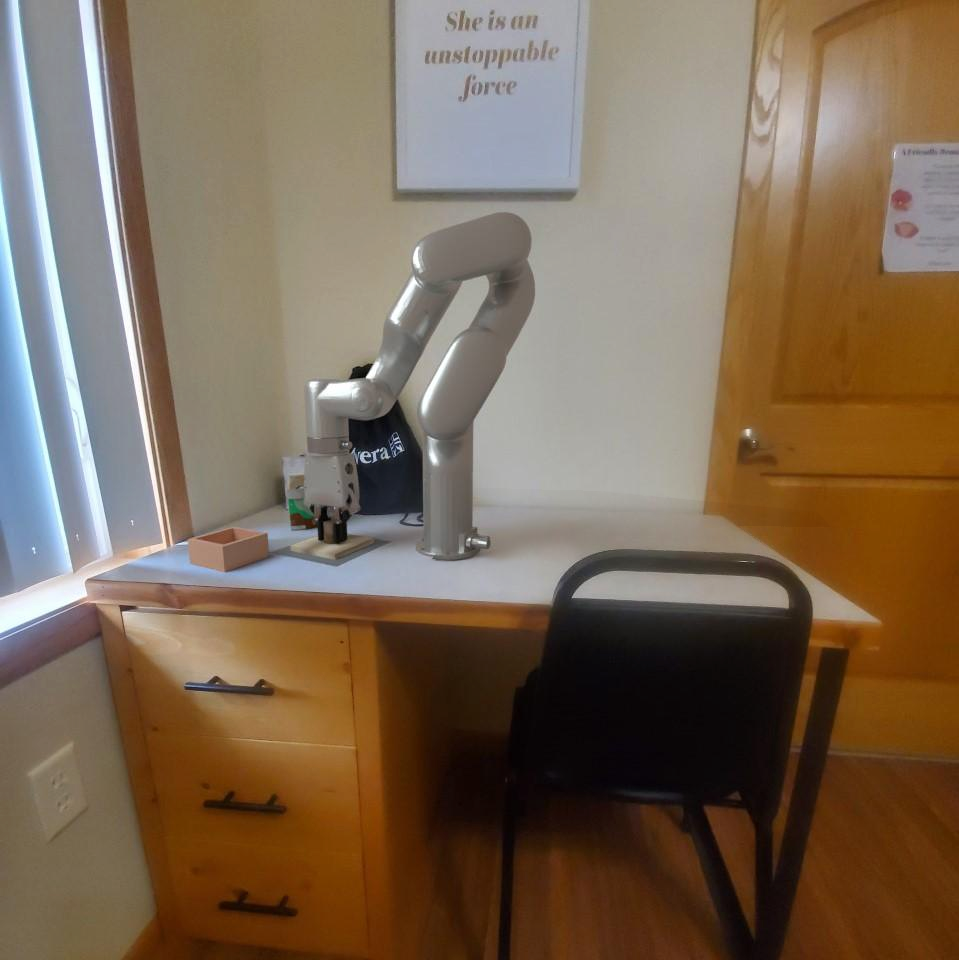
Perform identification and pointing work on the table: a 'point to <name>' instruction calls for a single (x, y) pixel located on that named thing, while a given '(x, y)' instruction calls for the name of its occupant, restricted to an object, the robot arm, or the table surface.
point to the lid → (331, 544)
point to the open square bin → (228, 548)
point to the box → (294, 481)
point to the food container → (299, 510)
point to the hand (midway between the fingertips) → (332, 539)
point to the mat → (328, 561)
